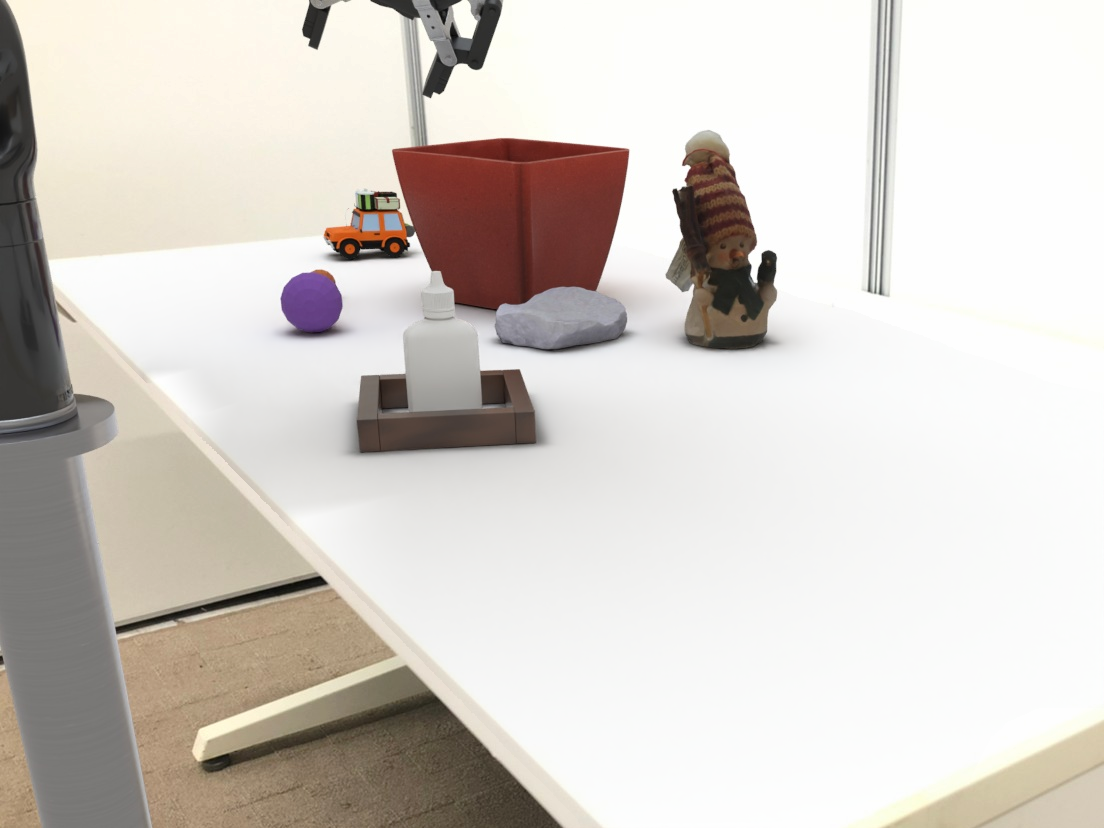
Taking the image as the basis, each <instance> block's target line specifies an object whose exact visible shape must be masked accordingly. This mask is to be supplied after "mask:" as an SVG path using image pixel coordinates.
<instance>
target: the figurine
mask: <svg viewBox="0 0 1104 828" xmlns="http://www.w3.org/2000/svg"><path fill="white" fill-rule="evenodd" d="M684 146H685V148H684V150H685V157H684V158H683V160H682V163H681V167H686V166H688V167H690V168H689V169H688V171H687V173H686V177H685V178H684V180H683V181H684V182H685V185H684V186H681V188H680V189H678V188H677V187H675V188H673V189H672V191H671V192H672V196H673V201H674V203H675V209H676V214H677V217H678V219H679V229H680V233H681V235H682V237H681V240H680V241H679V244H678V248H677V250H676V252H675V254H674V256H673V258H672V260H671V263H670V264H669V267H668V269H667V271H666V273H665V279H666V280H669V282H671V283H672V284H673V285H674V286H676V287H677V288H678V289H679V291H681V293H685V292H689V291H690V288H692V286H693V288H692V289H693V290H692V298H691V301H690V303H689V307H688V309H687V312H686V316H685V322H684V334H685V336H686V338H687V340H688V342H689V343H690V344H692V345H696V346H700V347H706V348H713V349H714V348H715V349H717V348H718V349H727V350H739V349H748V348H751V347H755V346H756V345H758V344H761V342H763V340H764V338H765V336H766V334H767V333H768V322H769V320H768V318H769V312H770V309H771V307H773V306H774V304H775V303H776V302H777V299H778V298H777V297H778V290H777V288H776V286H775V285H774V284H775V278H776V276H777V275H776V274H777V261H778V256H777V253H776V252H774V251H773V250H770V249H767V250H764V251H763V252H761V254H760V256H761V259H760V260H761V262H760V263H759V265H758V268H757V273H756V282H754V279H753V277H752V275H751V273H752V269H753V265H752V264H751V263H750V260H749V255H750V254H751V253H752V252H753V251H754V250H755V249H756V246H758V239H757V233H756V231H755V227H754V224H753V220H752V216H751V213H750V210H749V207H748V203H747V199H746V196H745V195H744V194H743V193H742V191H741V189H740V185H739V183H738V181H737V174H736V171H735V167H734V166H733V165H732V164H731V163H730V162H731V161H730V156H731V153H730V150H729V147H728V146H727V144H726V142H725V141H724V140H723V138H722V136H721V135H720V134H719V133H718V132H715V131H713V130H712V129H711V130H710V129H705V130H700V131H698V132H697V133H696V134H694V135H693V136H692V137H690V138H689V140H688V141H687V142H686V143H685V145H684Z"/></svg>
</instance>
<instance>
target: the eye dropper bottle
mask: <svg viewBox="0 0 1104 828" xmlns="http://www.w3.org/2000/svg"><path fill="white" fill-rule="evenodd" d="M429 279H430V280H429V284H428V286H425V287H424V288H422V289H421V291H420V293H421V294H420V295H421V309H422V317H424V318H423V319H420V320H418V321H415V322H413V323H411V324H409V325H408V326H407V327H406V328H405V329H404V330H403V334H402V343H403V357H404V370H405V374H406V384H407V397H408V407H407V408H408V412H420V411H441V410H462V409H483V404H482V394H481V377H480V371H481V362H480V349H479V348H480V347H479V337H478V336H479V335H478V331H477V329H476V328H475V327H474V325H472V324H471V323H470V322H468V320H464V319H461V318H457V317H455V316H456V308H455V302H454V291H453V289H451V288H449V287H447V286H446V285H445V284H444V282H443V279H442V275H441V272H440V271H430V278H429Z"/></svg>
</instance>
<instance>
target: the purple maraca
mask: <svg viewBox="0 0 1104 828" xmlns="http://www.w3.org/2000/svg"><path fill="white" fill-rule="evenodd" d="M336 283H337V282H336V279H335V278H334V276H333V274H331V272H329V271H327V270H325V269H314V270H312V271H310V272H301V273H299V274H297V275H295V276H293V277H291V279H289V281H288V282H287V283H286V284H285V285H284V286H283V288H282V293H281V295H280V298H279V299H280V306H281V307H280V308H281V311H282V314H283V315H284V317H285V319H286V320H287V321H288V323H290V324H291V325H292V326H294V327H295V328H296V329H297V330H300V331H304V332H307V333H322V332H325V331H326V330H328V329H330V328H332V327H333V326H334V325H335V324H336V322H337V321H338V320H339V319H340V317H341V313H342V310H343V308H344V307H343V297H342V293H341V291H340V290H339V287H338V285H337V284H336Z"/></svg>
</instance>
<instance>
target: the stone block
mask: <svg viewBox="0 0 1104 828" xmlns="http://www.w3.org/2000/svg"><path fill="white" fill-rule="evenodd" d="M494 322H495V323H494V329H495V333H496V336H497V337H498V338H499V340H500V342H501V343H503V344H510V345H511V344H512V345H514V346H520V347H521V346H522V347H531V348H535V349H540V350H560V349H564V348H570V347H571V348H572V347H575V346H581V345H588V344H589V345H590V344H594V343H595V344H596V343H601V342H604V341H610V340H617V339H618V338H619V337H620V336H621V335H622V334H623V332H624V331H625V330H626V327H627V323H628V313H627V309H626V307H625V305H623V304H622V303H621V302H619V301H618V300H617V299H616V298H614V297H613V298H612V297H609V296H607V295H604V294H602V293H600V292H598V291H597V290H596V291H591V290H586V289H584V288H580V287H558V288H552V289H549V290H546V291H544V292H543V293H541V294H537V295H535V296H534V297H532V298H531V299H530V300H529V301H528V302H526V303H524V304H519V305H510V304H506V303H505V304H502V305H500V306H499V308H498V310H497V309H496V312H495V321H494Z"/></svg>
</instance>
